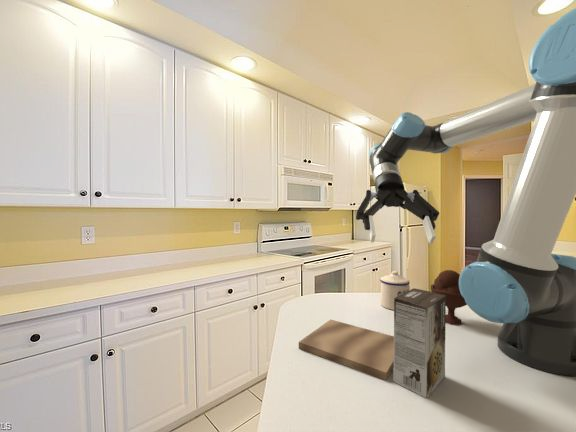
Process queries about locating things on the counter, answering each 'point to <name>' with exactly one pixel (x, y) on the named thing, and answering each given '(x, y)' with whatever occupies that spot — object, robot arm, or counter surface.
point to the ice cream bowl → (449, 294)
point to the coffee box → (419, 340)
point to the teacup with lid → (392, 288)
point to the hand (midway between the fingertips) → (402, 239)
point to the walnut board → (352, 347)
